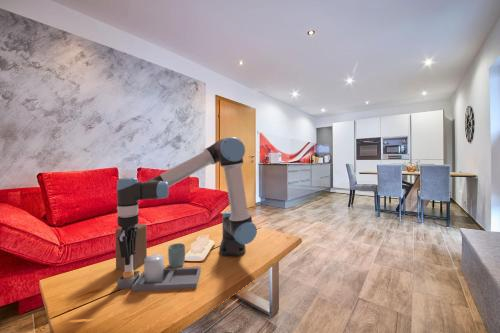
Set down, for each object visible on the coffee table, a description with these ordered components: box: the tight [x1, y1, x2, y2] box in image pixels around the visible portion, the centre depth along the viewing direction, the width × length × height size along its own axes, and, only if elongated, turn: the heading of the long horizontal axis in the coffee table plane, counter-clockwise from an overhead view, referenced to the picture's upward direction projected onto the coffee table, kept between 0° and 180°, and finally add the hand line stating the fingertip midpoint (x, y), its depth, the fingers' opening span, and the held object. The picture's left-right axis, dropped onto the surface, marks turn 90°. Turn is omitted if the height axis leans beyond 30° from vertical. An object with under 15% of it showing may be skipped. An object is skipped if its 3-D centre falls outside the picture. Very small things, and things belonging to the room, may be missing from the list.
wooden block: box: [115, 223, 148, 271], centre depth 104 cm, size 10×10×20 cm
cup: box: [167, 243, 186, 268], centre depth 105 cm, size 8×8×10 cm
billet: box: [143, 253, 165, 284], centre depth 91 cm, size 8×8×10 cm
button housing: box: [116, 270, 140, 290], centre depth 88 cm, size 6×6×4 cm
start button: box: [122, 270, 135, 278], centre depth 88 cm, size 4×4×4 cm
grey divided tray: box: [131, 266, 202, 293], centre depth 91 cm, size 25×14×3 cm, turn 96°
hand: (128, 271), depth 88 cm, fingers closed
